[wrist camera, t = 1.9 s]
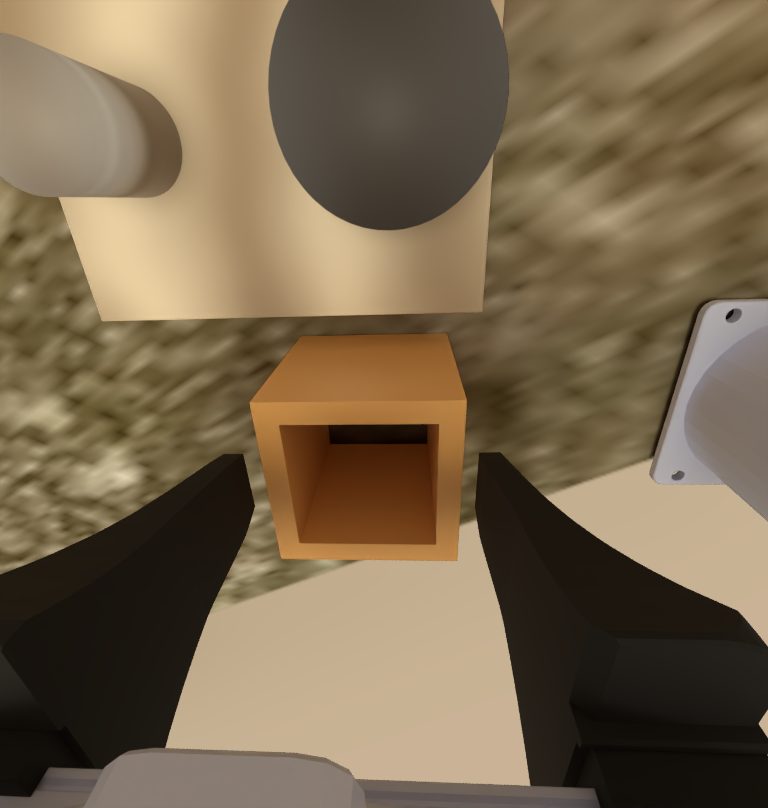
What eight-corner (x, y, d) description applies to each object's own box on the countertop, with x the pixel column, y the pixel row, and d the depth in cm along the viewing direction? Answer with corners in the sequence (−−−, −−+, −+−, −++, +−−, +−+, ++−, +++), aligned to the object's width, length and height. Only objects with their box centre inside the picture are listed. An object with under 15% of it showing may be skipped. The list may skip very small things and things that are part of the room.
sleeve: (446, 332, 16) (466, 400, 11) (442, 456, 19) (457, 561, 13) (300, 336, 16) (249, 402, 11) (316, 457, 19) (281, 558, 14)
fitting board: (504, -124, 11) (581, -379, 6) (477, 304, 15) (507, 349, 11) (-5, -79, 11) (-288, -269, 7) (122, 313, 16) (8, 358, 12)
